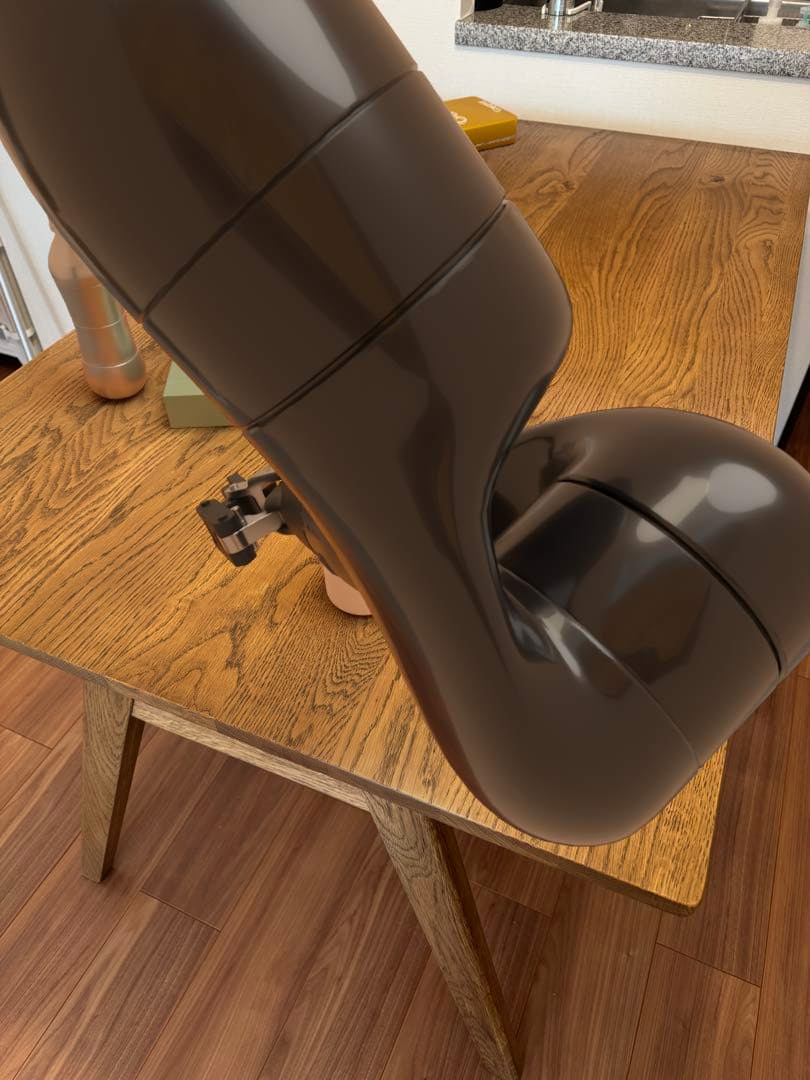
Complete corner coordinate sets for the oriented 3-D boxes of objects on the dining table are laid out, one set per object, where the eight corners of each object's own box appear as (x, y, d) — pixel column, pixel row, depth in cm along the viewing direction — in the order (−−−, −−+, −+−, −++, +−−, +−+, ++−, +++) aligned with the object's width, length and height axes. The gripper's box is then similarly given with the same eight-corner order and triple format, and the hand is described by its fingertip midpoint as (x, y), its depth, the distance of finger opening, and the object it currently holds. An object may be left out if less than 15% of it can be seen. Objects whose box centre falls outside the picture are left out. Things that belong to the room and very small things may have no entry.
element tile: (520, 142, 141) (522, 113, 138) (450, 158, 136) (451, 128, 132) (474, 119, 150) (475, 91, 147) (406, 132, 145) (406, 104, 142)
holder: (392, 419, 82) (391, 387, 79) (170, 428, 81) (162, 396, 78) (386, 353, 91) (385, 322, 88) (187, 360, 90) (180, 329, 87)
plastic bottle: (134, 366, 89) (83, 187, 75) (162, 392, 86) (114, 208, 71) (80, 387, 86) (16, 204, 72) (107, 414, 83) (45, 228, 68)
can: (417, 578, 66) (419, 469, 58) (377, 630, 62) (372, 521, 54) (353, 550, 68) (346, 441, 60) (310, 599, 64) (296, 489, 56)
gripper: (494, 352, 34) (374, 353, 49) (196, 504, 31) (164, 456, 46) (549, 502, 37) (419, 460, 51) (280, 656, 33) (224, 564, 48)
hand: (300, 458), depth 48 cm, fingers open, 8 cm apart
